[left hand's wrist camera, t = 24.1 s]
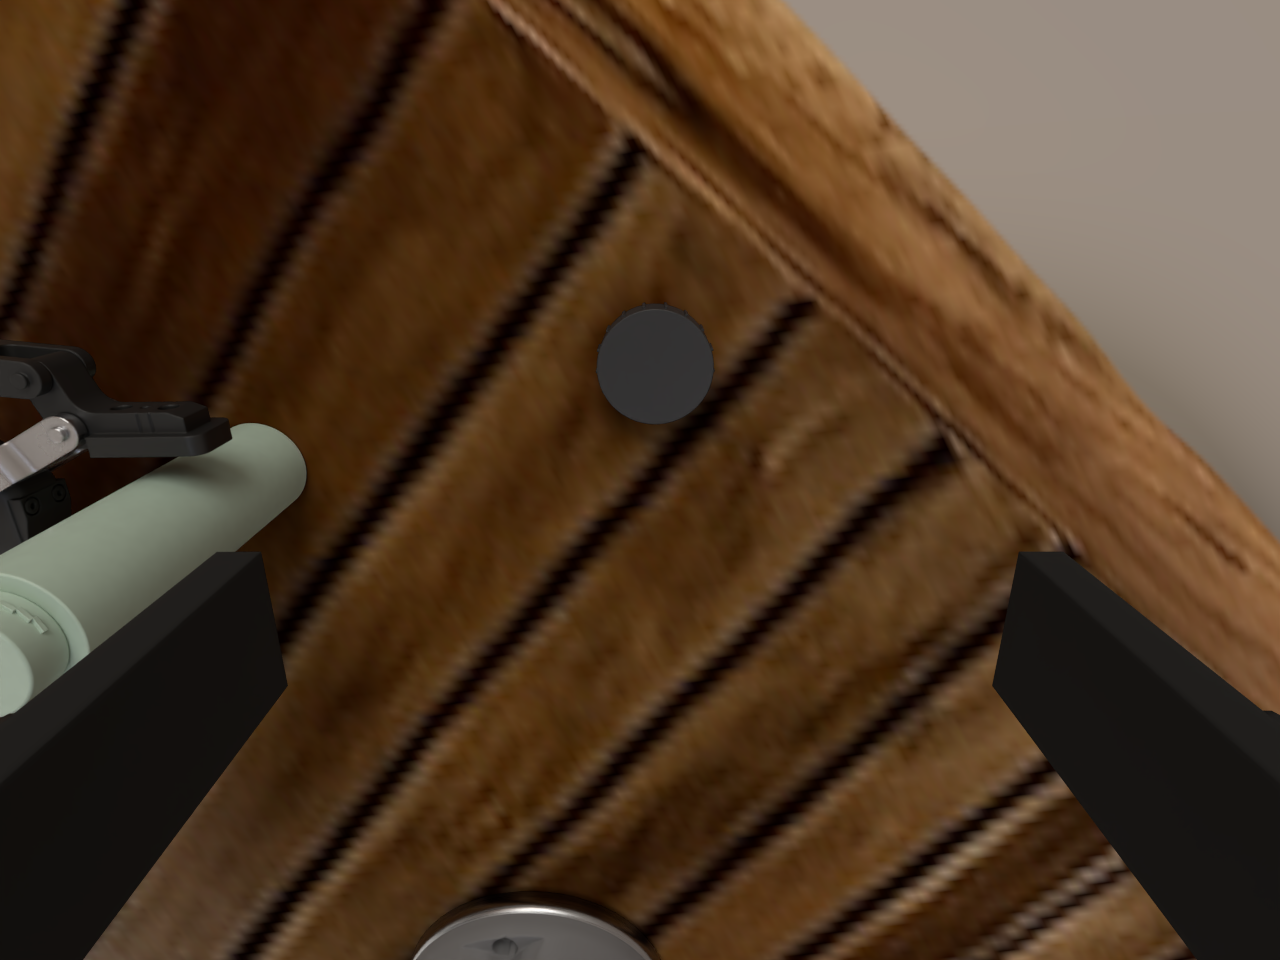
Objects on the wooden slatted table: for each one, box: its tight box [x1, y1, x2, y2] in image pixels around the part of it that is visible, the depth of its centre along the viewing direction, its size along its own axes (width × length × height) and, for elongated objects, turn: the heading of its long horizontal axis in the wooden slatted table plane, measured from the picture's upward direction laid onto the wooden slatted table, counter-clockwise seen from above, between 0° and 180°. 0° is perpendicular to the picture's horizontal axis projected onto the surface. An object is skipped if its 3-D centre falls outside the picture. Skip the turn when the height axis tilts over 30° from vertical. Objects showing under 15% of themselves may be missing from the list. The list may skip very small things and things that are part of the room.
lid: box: [596, 302, 715, 424], centre depth 29 cm, size 5×5×2 cm
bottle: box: [0, 423, 306, 717], centre depth 25 cm, size 4×4×15 cm
